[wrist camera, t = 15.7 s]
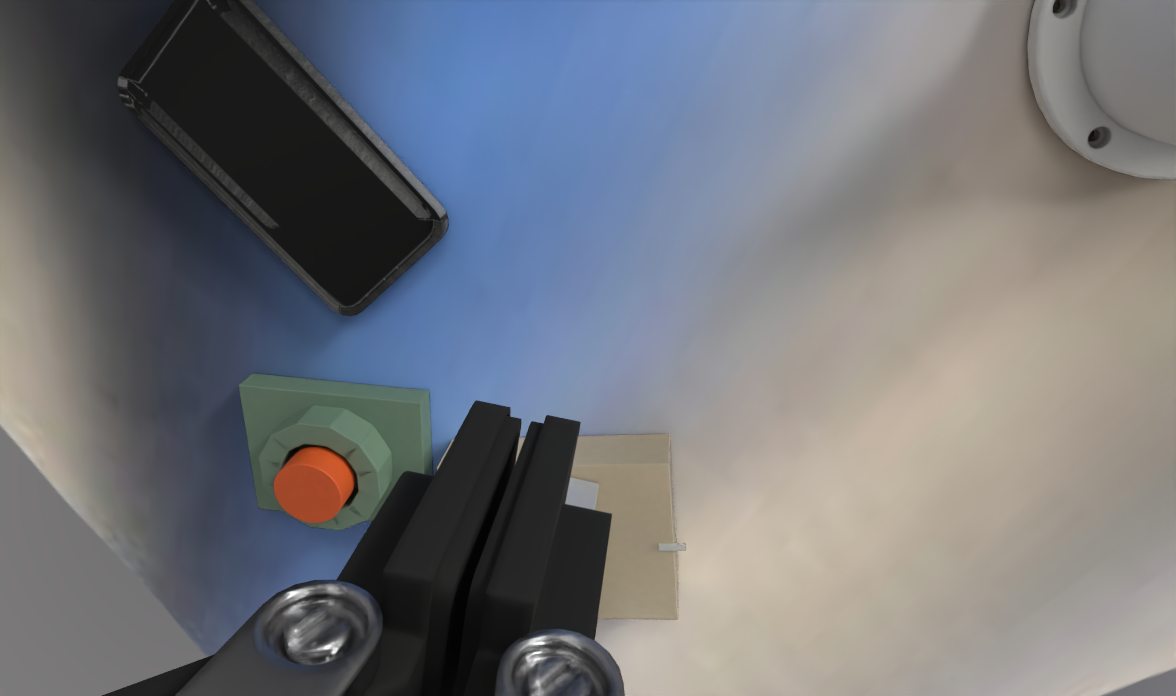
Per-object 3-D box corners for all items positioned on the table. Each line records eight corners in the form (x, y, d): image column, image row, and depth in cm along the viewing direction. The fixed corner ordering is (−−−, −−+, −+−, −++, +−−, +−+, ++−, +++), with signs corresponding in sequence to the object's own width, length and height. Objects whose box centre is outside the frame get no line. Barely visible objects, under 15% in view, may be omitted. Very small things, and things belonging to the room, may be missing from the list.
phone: (204, -39, 32) (451, 228, 35) (218, -37, 33) (458, 222, 36) (107, 90, 34) (345, 326, 38) (123, 88, 35) (354, 318, 39)
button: (352, 449, 39) (338, 467, 37) (357, 506, 40) (344, 527, 39) (285, 442, 39) (268, 460, 37) (293, 499, 40) (277, 519, 39)
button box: (429, 389, 40) (408, 421, 37) (435, 512, 44) (415, 551, 40) (252, 373, 41) (216, 402, 38) (270, 493, 44) (239, 530, 41)
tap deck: (680, 406, 39) (680, 437, 36) (690, 604, 44) (690, 644, 41) (436, 413, 41) (418, 442, 38) (473, 602, 46) (459, 641, 43)
